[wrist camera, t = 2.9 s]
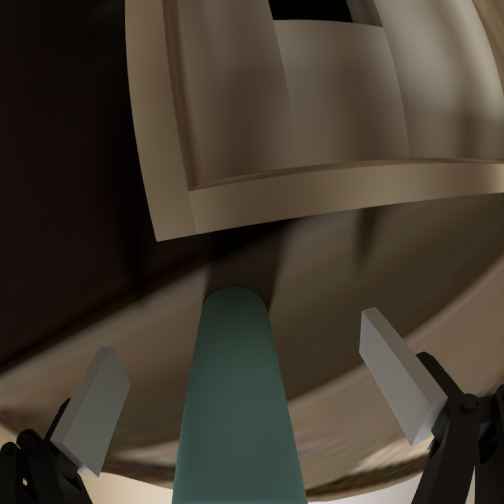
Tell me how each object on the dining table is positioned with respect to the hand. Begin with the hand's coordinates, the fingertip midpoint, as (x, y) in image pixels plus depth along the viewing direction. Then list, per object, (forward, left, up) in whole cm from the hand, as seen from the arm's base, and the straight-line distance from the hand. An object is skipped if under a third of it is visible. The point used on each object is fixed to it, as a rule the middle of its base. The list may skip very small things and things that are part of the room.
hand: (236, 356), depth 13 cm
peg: (0, 0, -4) cm, 4 cm away
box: (+10, +18, -4) cm, 21 cm away
